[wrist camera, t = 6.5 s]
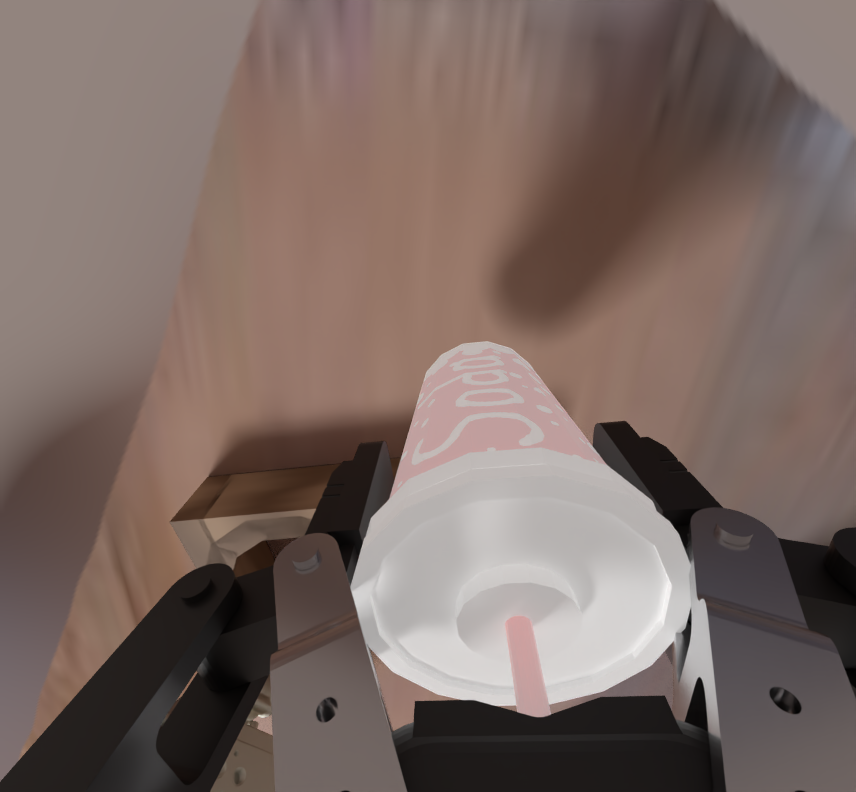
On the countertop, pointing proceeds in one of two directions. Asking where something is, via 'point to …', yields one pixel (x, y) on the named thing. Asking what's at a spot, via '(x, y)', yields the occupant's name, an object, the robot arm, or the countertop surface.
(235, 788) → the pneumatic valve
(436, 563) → the beverage cup
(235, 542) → the socket block
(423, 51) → the countertop surface
